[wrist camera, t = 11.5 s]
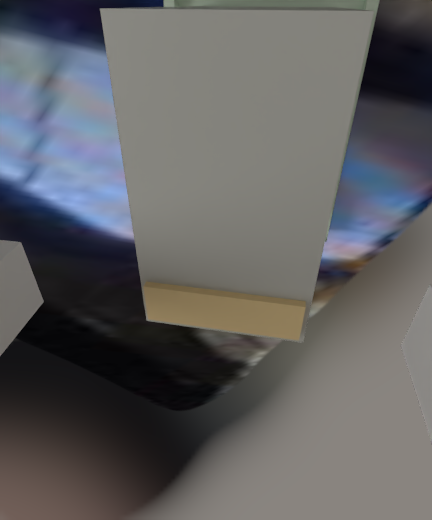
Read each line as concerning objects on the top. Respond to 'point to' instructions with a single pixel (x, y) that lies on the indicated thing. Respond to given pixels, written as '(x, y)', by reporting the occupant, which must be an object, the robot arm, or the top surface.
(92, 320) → the top surface
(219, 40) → the upright pale grey block
